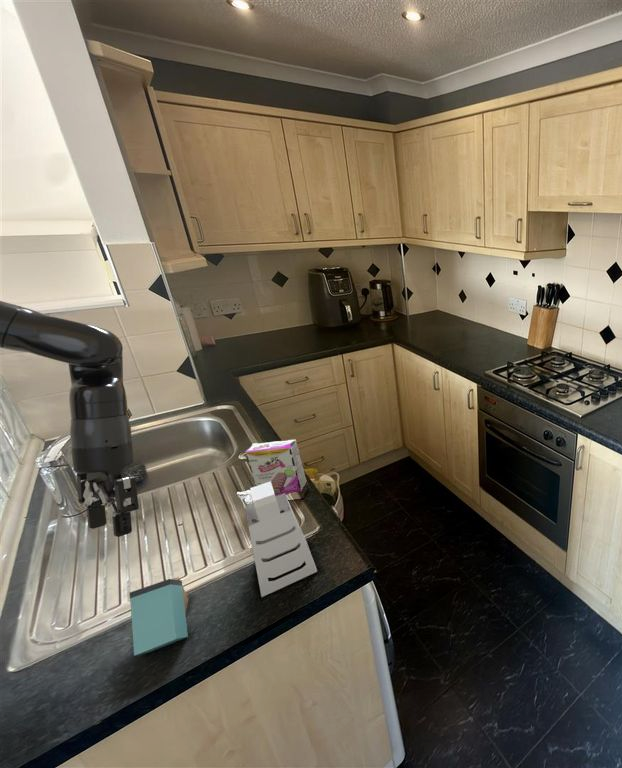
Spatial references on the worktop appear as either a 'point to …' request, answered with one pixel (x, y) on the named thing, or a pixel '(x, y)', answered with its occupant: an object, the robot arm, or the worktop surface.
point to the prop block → (184, 596)
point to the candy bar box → (277, 465)
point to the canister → (157, 616)
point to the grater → (276, 540)
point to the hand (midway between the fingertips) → (110, 530)
